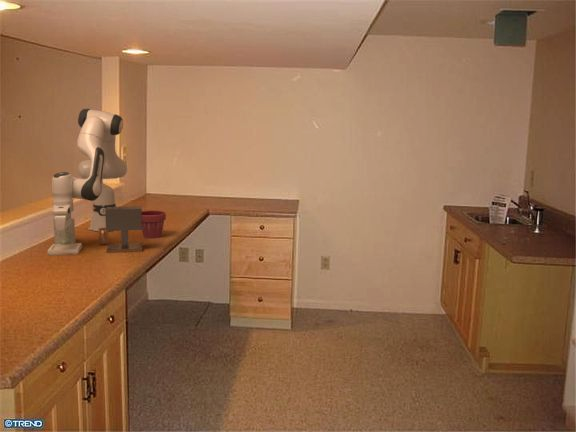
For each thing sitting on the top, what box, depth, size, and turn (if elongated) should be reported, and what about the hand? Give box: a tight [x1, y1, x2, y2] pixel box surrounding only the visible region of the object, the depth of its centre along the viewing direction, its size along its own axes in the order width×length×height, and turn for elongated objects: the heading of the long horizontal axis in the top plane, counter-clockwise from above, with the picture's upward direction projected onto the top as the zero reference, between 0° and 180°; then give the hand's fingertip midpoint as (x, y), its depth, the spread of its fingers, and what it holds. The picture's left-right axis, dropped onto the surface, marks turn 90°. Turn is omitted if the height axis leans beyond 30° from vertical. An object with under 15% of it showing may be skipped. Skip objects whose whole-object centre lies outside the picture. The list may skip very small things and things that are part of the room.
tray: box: [47, 242, 83, 256], centre depth 267 cm, size 13×13×2 cm
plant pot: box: [141, 210, 167, 239], centre depth 300 cm, size 14×14×13 cm
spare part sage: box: [60, 227, 71, 245], centre depth 265 cm, size 4×4×8 cm
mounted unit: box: [105, 205, 144, 254], centre depth 271 cm, size 12×16×20 cm
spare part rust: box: [97, 228, 110, 247], centre depth 281 cm, size 4×4×8 cm
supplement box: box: [53, 217, 77, 244], centre depth 282 cm, size 7×7×13 cm
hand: (65, 237), depth 266 cm, fingers closed on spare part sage, 4 cm apart
